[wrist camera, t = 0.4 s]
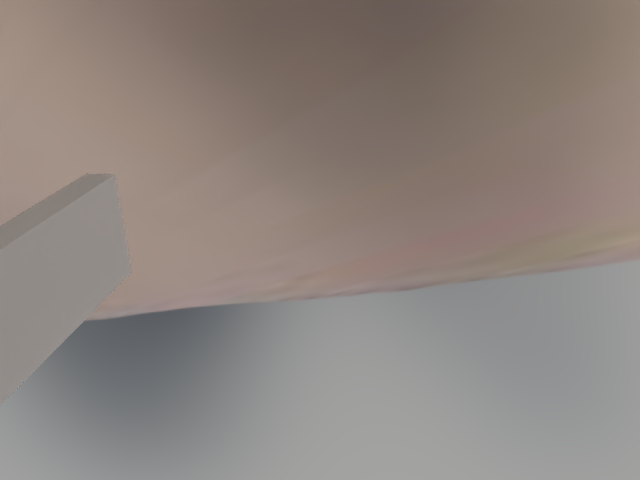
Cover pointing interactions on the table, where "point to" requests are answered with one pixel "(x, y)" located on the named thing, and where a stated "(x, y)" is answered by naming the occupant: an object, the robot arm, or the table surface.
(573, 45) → the table surface
